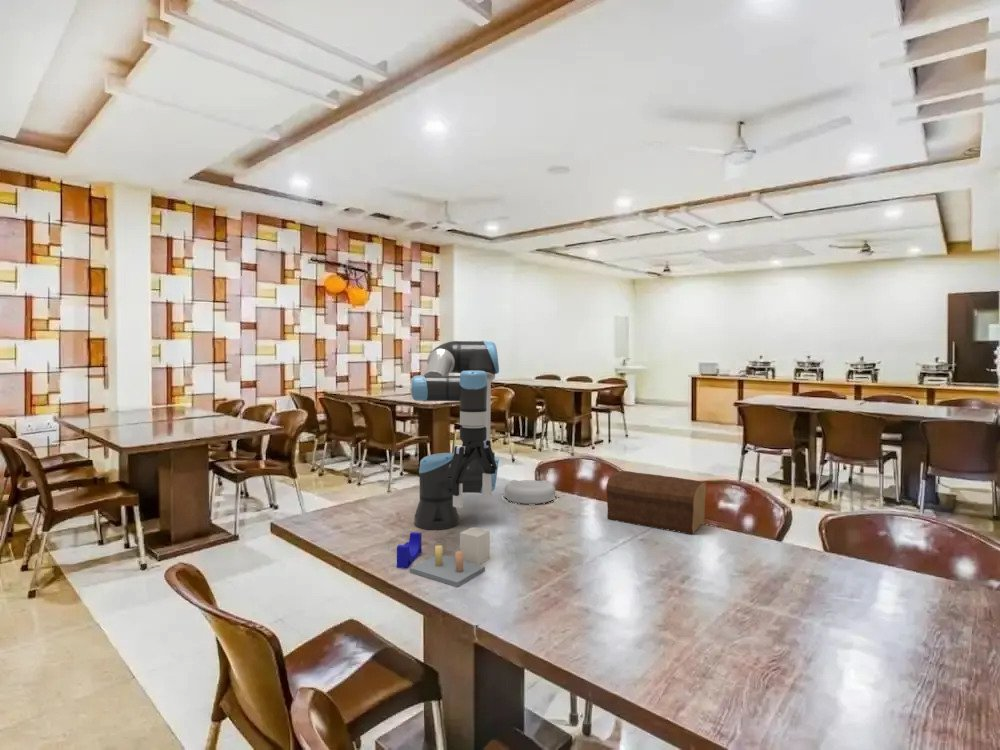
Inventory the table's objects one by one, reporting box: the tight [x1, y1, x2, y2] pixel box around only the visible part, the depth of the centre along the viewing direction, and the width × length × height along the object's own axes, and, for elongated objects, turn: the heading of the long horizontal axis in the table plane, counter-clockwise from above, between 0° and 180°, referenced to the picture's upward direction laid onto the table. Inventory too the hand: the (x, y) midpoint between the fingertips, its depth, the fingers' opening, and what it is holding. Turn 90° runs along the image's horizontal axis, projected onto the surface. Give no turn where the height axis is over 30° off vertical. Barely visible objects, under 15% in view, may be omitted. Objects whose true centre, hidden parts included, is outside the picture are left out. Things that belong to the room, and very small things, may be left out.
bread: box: [606, 470, 707, 535], centre depth 195 cm, size 18×30×16 cm, turn 57°
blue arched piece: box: [396, 531, 422, 570], centre depth 159 cm, size 12×4×6 cm, turn 169°
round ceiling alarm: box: [503, 479, 556, 505], centre depth 224 cm, size 25×25×6 cm
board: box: [409, 544, 486, 588], centre depth 150 cm, size 12×16×6 cm
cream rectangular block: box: [459, 526, 491, 565], centre depth 159 cm, size 6×6×8 cm
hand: (472, 501), depth 158 cm, fingers open, 13 cm apart
